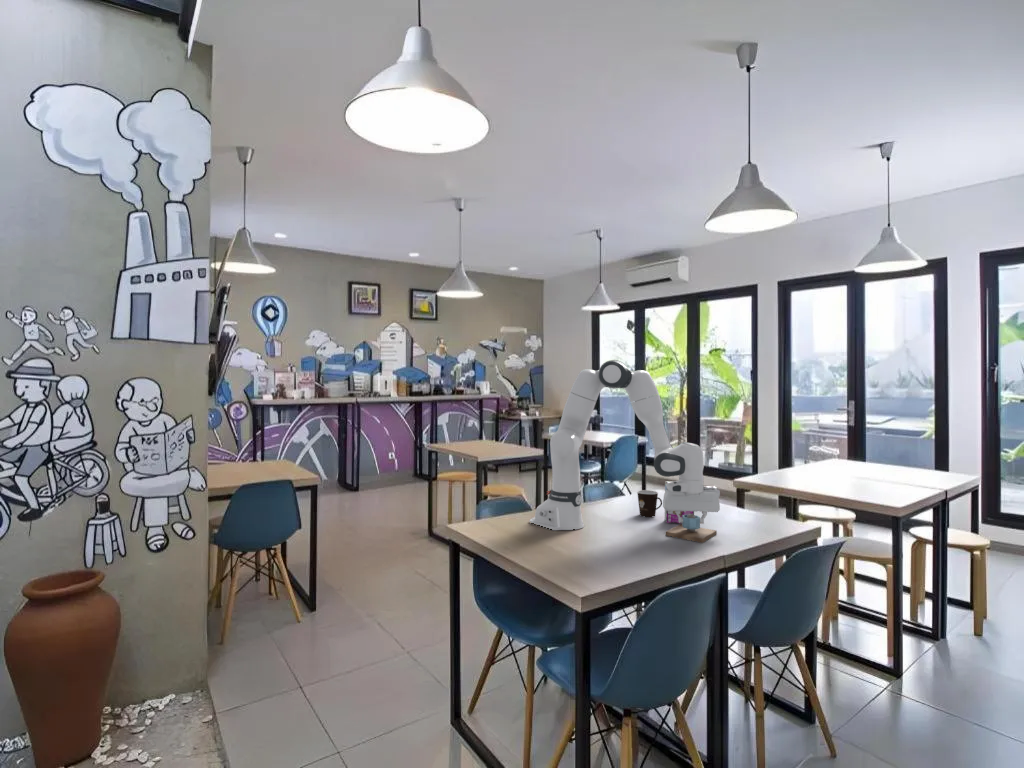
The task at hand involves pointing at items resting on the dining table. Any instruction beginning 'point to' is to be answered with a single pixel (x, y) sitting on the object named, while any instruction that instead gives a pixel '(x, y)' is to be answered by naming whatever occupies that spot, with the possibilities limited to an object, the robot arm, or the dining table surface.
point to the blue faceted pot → (691, 522)
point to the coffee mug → (648, 502)
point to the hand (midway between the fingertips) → (690, 522)
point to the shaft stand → (691, 532)
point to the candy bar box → (671, 515)
